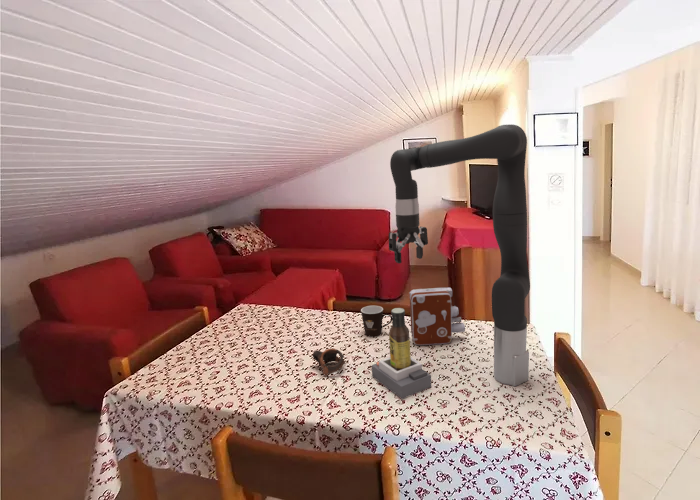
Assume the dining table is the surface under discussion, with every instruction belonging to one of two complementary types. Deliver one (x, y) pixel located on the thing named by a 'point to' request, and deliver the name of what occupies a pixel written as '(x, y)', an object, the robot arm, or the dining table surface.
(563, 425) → the dining table surface
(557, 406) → the dining table surface
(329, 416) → the dining table surface
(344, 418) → the dining table surface
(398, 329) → the sauce bottle
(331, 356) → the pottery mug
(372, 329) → the coffee mug
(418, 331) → the cine camera
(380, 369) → the retro computer monitor
